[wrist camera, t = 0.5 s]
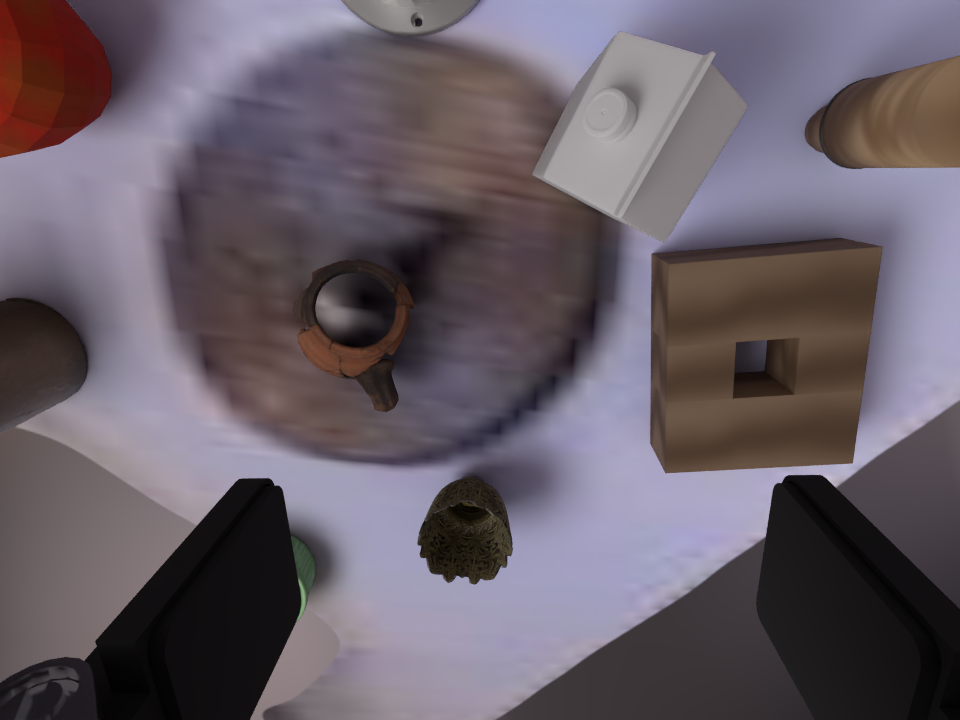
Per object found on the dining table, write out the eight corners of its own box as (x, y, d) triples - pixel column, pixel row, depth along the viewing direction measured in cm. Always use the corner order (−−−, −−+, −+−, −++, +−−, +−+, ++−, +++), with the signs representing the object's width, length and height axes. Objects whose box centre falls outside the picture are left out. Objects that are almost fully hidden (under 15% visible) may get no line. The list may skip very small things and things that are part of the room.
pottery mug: (278, 308, 47) (264, 283, 39) (378, 260, 49) (384, 227, 41) (348, 433, 47) (348, 433, 39) (445, 379, 49) (464, 368, 41)
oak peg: (788, 92, 39) (923, 55, 26) (867, 84, 39) (1044, 42, 26) (782, 172, 41) (906, 173, 28) (858, 165, 40) (1019, 163, 27)
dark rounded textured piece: (517, 460, 49) (518, 512, 42) (507, 529, 52) (506, 590, 44) (434, 449, 50) (420, 500, 42) (428, 519, 52) (414, 579, 44)
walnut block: (651, 253, 43) (669, 264, 38) (840, 238, 42) (882, 246, 37) (650, 443, 48) (665, 473, 44) (818, 433, 47) (852, 463, 42)
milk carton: (665, 128, 40) (790, 95, 22) (613, 218, 42) (689, 254, 24) (579, 80, 39) (636, 5, 21) (531, 174, 42) (546, 178, 24)
